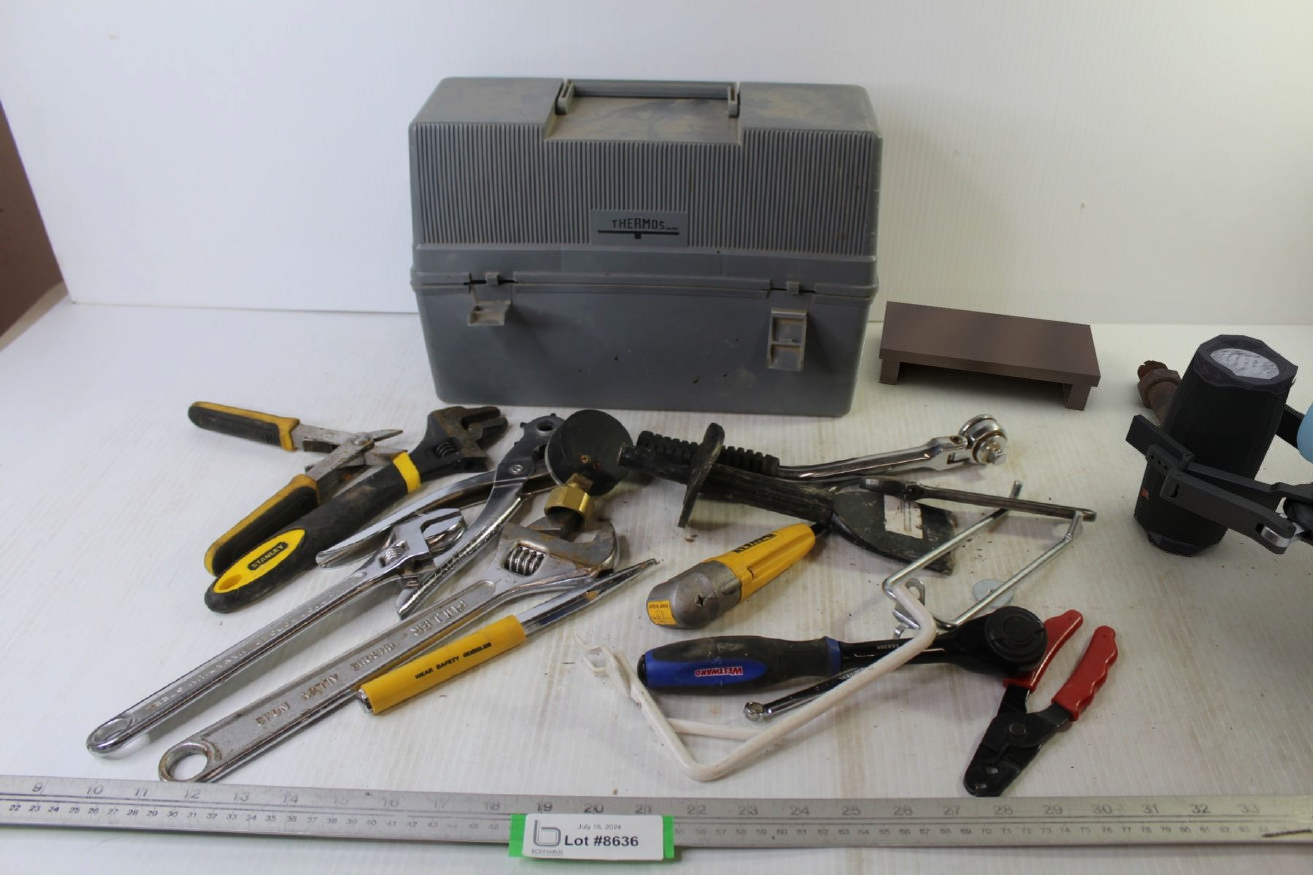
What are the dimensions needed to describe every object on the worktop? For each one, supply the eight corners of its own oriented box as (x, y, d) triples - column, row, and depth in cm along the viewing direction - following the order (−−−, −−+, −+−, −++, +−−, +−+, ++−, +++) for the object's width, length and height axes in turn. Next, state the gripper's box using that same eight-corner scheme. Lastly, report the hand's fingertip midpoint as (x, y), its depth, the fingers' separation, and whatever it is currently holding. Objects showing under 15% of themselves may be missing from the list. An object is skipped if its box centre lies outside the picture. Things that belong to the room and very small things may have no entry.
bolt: (1148, 397, 116) (1182, 470, 103) (1115, 376, 115) (1146, 446, 102) (1187, 363, 112) (1227, 433, 100) (1154, 340, 112) (1190, 408, 99)
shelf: (1079, 360, 119) (1090, 324, 116) (1089, 413, 110) (1101, 376, 107) (881, 335, 124) (886, 300, 121) (874, 384, 115) (880, 347, 112)
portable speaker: (1128, 550, 91) (1195, 373, 80) (1126, 491, 98) (1188, 321, 87) (1229, 572, 89) (1313, 393, 77) (1219, 510, 96) (1295, 338, 84)
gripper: (1256, 640, 71) (1069, 472, 88) (1500, 565, 78) (1284, 422, 94) (1296, 565, 67) (1091, 403, 83) (1551, 493, 73) (1315, 355, 90)
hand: (1193, 413), depth 89 cm, fingers open, 13 cm apart
